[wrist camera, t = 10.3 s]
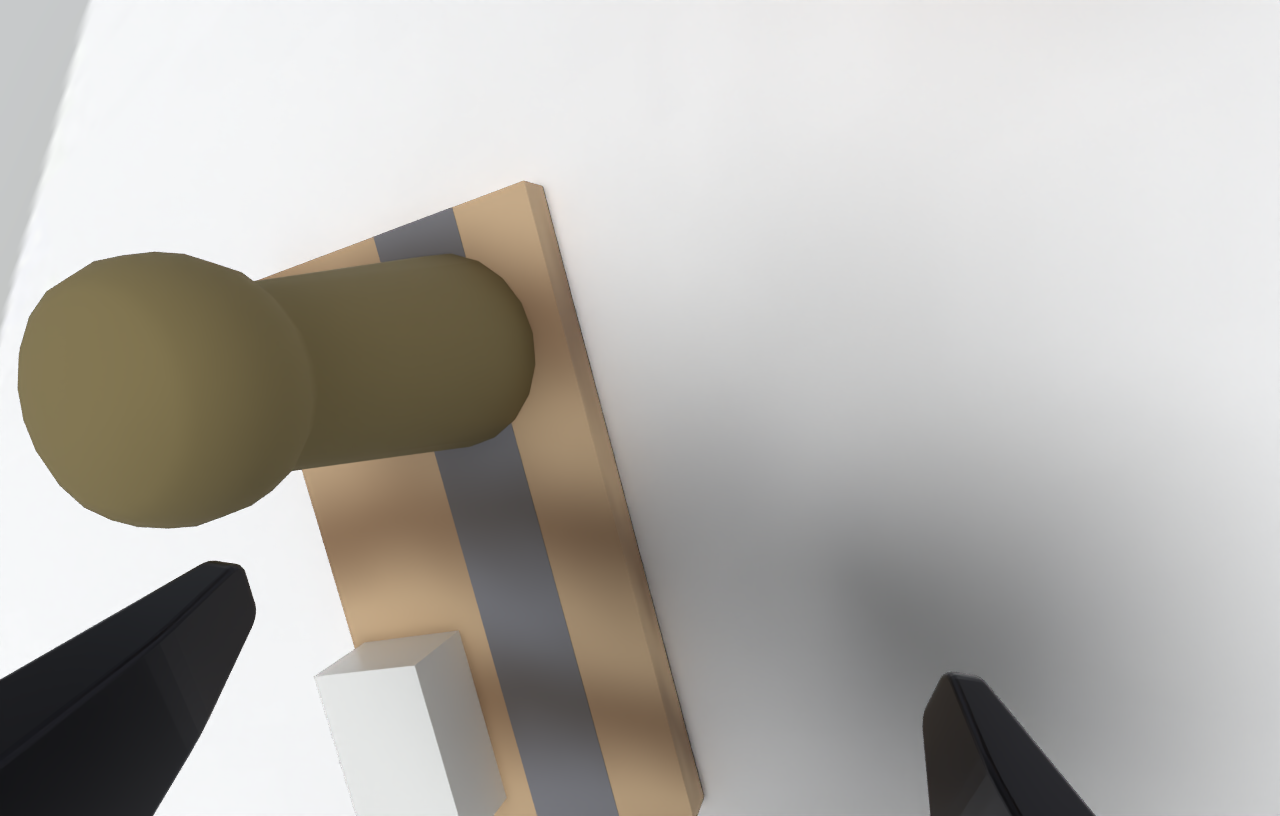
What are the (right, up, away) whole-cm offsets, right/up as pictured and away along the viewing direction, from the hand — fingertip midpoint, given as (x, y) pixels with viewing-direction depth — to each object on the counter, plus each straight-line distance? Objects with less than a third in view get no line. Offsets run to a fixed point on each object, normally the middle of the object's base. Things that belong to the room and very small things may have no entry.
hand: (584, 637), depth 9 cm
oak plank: (-5, -1, +15) cm, 16 cm away
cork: (-5, +5, +13) cm, 15 cm away
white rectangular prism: (-6, -8, +16) cm, 19 cm away
